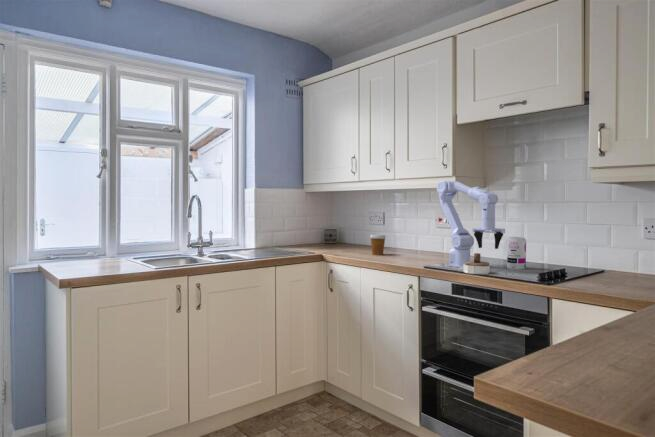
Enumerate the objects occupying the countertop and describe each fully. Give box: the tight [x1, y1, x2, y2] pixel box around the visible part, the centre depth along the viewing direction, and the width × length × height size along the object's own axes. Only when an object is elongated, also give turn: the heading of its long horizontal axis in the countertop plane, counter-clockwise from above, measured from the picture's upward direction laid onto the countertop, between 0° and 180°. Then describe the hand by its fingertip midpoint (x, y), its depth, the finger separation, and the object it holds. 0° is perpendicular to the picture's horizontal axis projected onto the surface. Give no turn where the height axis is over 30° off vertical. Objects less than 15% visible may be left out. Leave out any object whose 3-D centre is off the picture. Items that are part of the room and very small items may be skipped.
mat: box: [490, 267, 521, 275], centre depth 211 cm, size 14×10×1 cm
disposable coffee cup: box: [369, 233, 386, 256], centre depth 275 cm, size 10×10×12 cm
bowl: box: [462, 264, 491, 275], centre depth 206 cm, size 11×11×4 cm
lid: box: [465, 252, 490, 266], centre depth 206 cm, size 10×10×5 cm
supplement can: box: [506, 236, 527, 270], centre depth 219 cm, size 8×8×15 cm
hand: (488, 248), depth 212 cm, fingers open, 7 cm apart
